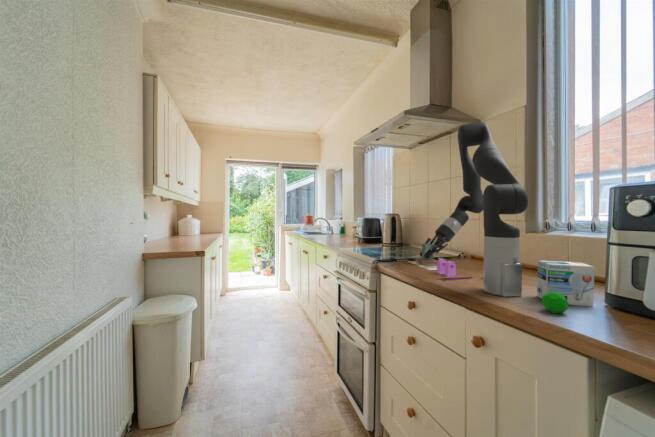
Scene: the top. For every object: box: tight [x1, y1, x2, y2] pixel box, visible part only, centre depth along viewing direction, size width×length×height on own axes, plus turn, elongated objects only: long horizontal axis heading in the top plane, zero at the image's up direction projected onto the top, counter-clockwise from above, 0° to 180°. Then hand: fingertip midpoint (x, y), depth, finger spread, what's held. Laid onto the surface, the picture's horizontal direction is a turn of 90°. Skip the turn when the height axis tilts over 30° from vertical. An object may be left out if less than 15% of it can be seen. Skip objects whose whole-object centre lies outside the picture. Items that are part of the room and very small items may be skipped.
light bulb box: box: [536, 259, 596, 307], centre depth 76 cm, size 11×7×11 cm, turn 73°
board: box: [407, 260, 437, 271], centre depth 121 cm, size 20×11×2 cm, turn 9°
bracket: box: [436, 258, 473, 281], centre depth 103 cm, size 13×6×7 cm, turn 108°
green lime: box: [541, 292, 569, 314], centre depth 67 cm, size 5×5×5 cm
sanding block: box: [415, 243, 439, 267], centre depth 122 cm, size 10×6×9 cm, turn 9°
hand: (423, 256), depth 122 cm, fingers closed on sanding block, 3 cm apart
